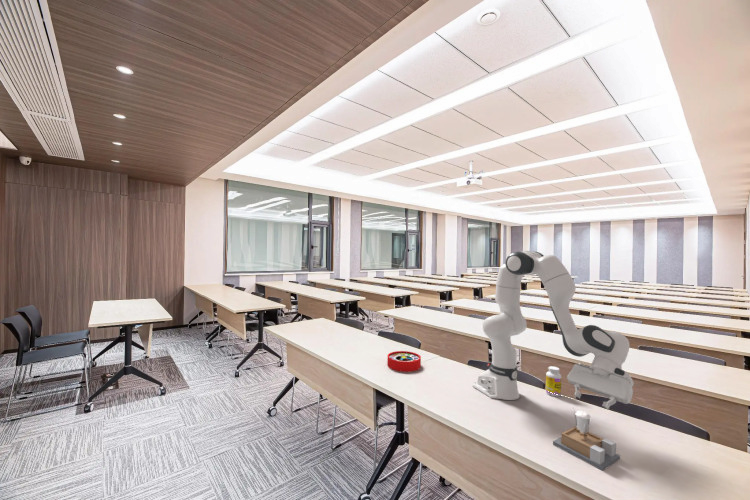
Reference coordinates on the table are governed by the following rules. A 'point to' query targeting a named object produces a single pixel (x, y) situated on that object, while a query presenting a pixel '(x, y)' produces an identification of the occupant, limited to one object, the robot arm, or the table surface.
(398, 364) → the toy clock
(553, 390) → the supplement bottle
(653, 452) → the table surface
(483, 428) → the table surface
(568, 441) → the baseplate
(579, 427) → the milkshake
